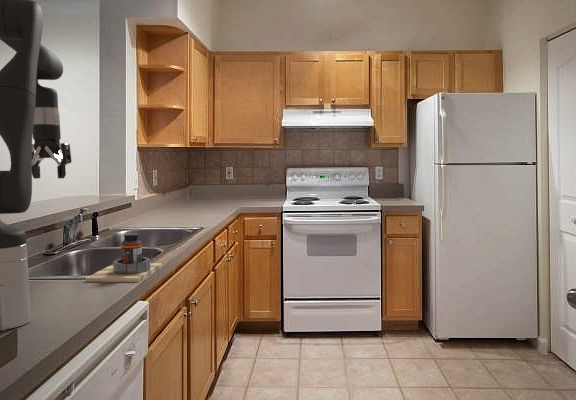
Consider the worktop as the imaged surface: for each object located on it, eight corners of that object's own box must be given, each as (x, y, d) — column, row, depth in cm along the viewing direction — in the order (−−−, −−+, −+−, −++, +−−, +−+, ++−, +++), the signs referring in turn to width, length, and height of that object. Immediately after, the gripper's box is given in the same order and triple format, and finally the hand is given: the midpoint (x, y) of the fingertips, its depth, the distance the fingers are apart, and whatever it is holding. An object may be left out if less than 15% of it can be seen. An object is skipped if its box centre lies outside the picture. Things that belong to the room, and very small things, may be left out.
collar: (139, 274, 149) (138, 264, 148) (106, 273, 151) (106, 263, 151) (156, 266, 159) (156, 257, 159) (126, 265, 162) (125, 256, 161)
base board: (139, 281, 145) (138, 277, 145) (85, 281, 146) (85, 277, 146) (161, 266, 165) (161, 263, 165) (114, 266, 166) (114, 263, 166)
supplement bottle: (118, 271, 154) (116, 234, 153) (132, 267, 159) (130, 232, 158) (132, 273, 151) (130, 235, 150) (146, 269, 156) (145, 233, 155)
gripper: (16, 123, 147) (19, 179, 148) (58, 122, 143) (61, 178, 145) (34, 125, 154) (37, 178, 155) (75, 123, 151) (77, 177, 152)
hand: (49, 178), depth 150 cm, fingers open, 8 cm apart
